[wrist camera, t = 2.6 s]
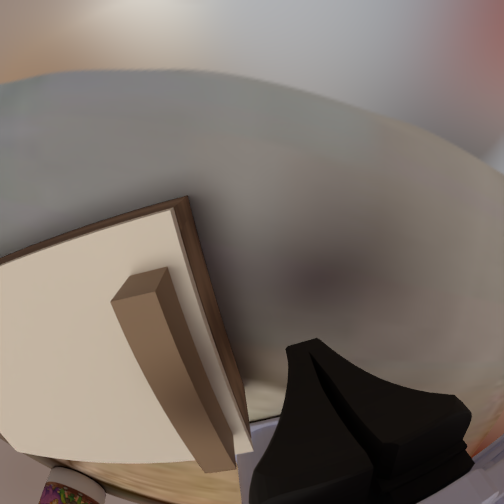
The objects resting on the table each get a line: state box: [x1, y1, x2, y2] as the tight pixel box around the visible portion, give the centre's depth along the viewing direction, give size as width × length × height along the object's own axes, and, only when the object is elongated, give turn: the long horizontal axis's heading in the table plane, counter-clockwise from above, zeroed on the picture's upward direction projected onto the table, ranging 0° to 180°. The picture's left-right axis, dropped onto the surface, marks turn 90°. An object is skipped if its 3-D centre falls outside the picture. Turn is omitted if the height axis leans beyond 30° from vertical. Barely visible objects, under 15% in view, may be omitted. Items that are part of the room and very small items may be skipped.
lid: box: [0, 207, 254, 473], centre depth 11 cm, size 14×20×3 cm
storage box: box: [0, 195, 252, 438], centre depth 15 cm, size 14×20×5 cm
